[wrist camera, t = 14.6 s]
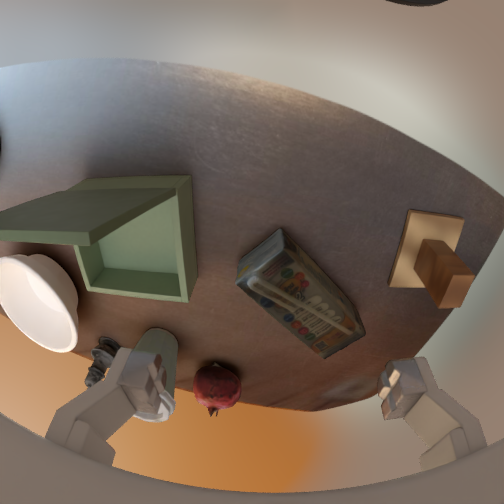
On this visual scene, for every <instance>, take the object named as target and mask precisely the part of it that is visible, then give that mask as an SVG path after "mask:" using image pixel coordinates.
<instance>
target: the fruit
mask: <svg viewBox="0 0 504 504" xmlns="http://www.w3.org/2000/svg"><path fill="white" fill-rule="evenodd" d="M193 388H194V394H195V397H196V399H197V401H198V402H199V403H200V404H203V405H205V406H206V407H207V408H208V411H209V414H210V416H212V414H213V413H214V412H216V416H217V414H218V410H219V409H226V408H229V407H232V406H233V405H234V404H235V403H236V402H237V401H238V400H239V398H240V395H241V382H240V380H239V379H238V377H237V376H235V375H234V374H233V373H232V372H231V371H229V370H227V369H225V368H222V367H220V366H219V365H218V364H216V363H215V362H214V363H213V364H212V365H210V366H205V367H202V368H201V369H199V370H198V371H197V373H196V375H195V377H194V383H193Z"/></svg>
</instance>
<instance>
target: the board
mask: <svg viewBox="0 0 504 504" xmlns="http://www.w3.org/2000/svg"><path fill="white" fill-rule="evenodd" d="M464 221H465V220H464V219H463V218H462V217H456V216H450V215H444V214H437V213H430V212H423V211H416V210H409V211H408V215H407V219H406V223H405V226H404V230H403V234H402V238H401V241H400V245H399V248H398V252H397V255H396V258H395V262H394V265H393V268H392V271H391V274H390V277H389V280H388V285H389V287H425V286H424V284H423V283H422V281H421V280H420V278H419V277H418V275H417V274H416V272H415V271H414V269H413V268H414V265H415V262H416V259H417V256H418V253H419V250H420V247H421V244H422V240H423V239H430V240H441V241H444V242H445V243H446V244H447V245H448V246H449V247H450V248H451V249H452V250H453V251H455V248H456V245H457V242H458V239H459V236H460V233H461V230H462V227H463V224H464Z"/></svg>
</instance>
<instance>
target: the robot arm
mask: <svg viewBox="0 0 504 504" xmlns="http://www.w3.org/2000/svg"><path fill="white" fill-rule="evenodd" d="M161 363H162V357H161V355H160V354H156V353H151V352H145V351H139V350H134V349H129V348H124V347H121V348H120V349H119V350H118V352H117V354H116V356H115V358H114V360H113V362H112V365H111V367H110V369H109V371H108V373H107V375H106V378H105V380H104V381H102V380H100V381H99V382H97V383H96V384H94V385H93V386H92V387H90V388H89V389H87V390H86V391H84V392H83V393H82V394H80V395H78V396H77V397H76V398H74V399H73V400H71V401H70V402H69V403H67V404H65V405H64V406H62V407H61V408H59V409H58V410H57V411H56V413H55V415H54V417H53V420H52V422H51V424H50V426H49V429H48V431H47V433H46V436H45V438H44V437H42V436H40V435H38V434H36V433H34V432H32V431H30V430H29V429H27V428H25V427H23V426H22V425H20V424H18V423H17V422H15V421H13V420H12V419H10V418H8V417H7V416H5V415H4V414H2V413H1V412H0V504H504V438H503V439H501V440H499V441H497V442H496V443H493V444H491V445H489V446H487V443H486V440H485V437H484V434H483V431H482V428H481V425H480V422H479V420H478V419H477V418H476V417H475V416H473V415H472V414H471V413H470V412H469V411H468V410H466V409H465V408H464V407H463V406H461V405H460V404H459V403H458V402H457V401H456V400H454V399H453V398H452V397H451V396H449V395H448V394H447V393H446V392H445V391H443V390H442V389H438V386H437V384H436V381H435V379H434V376H433V374H432V371H431V369H430V367H429V364H428V362H427V360H426V358H425V357H415V358H404V359H396V360H389V361H388V362H387V363H386V365H385V369H386V370H385V371H383V372H382V373H381V374H380V376H379V378H378V382H377V392H378V396H379V397H380V398H381V399H382V400H383V403H382V405H381V408H382V413H383V416H384V420H388V419H396V418H402V417H404V418H403V419H404V420H405V421H406V422H407V423H408V425H409V426H410V427H411V428H412V429H413V430H414V431H415V433H416V434H417V435H418V436H419V437H420V438H421V439H422V441H423V442H424V443H425V444H426V445H427V446H428V448H429V449H428V450H427V451H426V452H425V453H423V454H422V455H421V456H420V458H419V459H420V465H421V470H422V472H419V473H416V474H412V475H409V476H405V477H401V478H397V479H393V480H389V481H384V482H379V483H374V484H369V485H363V486H358V487H351V488H345V489H336V490H327V491H314V492H299V493H298V492H296V493H257V492H239V491H226V490H216V489H208V488H202V487H195V486H188V485H183V484H178V483H173V482H168V481H163V480H159V479H154V478H151V477H147V476H143V475H139V474H136V473H132V472H129V471H125V470H122V469H119V468H116V467H113V466H112V463H113V459H114V456H115V450H114V449H113V448H112V447H111V446H110V445H109V444H108V443H107V442H106V440H107V439H108V438H109V437H110V436H111V435H113V434H114V432H116V431H117V430H118V429H119V428H120V427H121V426H122V425H123V424H124V423H125V422H127V420H128V419H130V418H131V417H132V416H133V415H134V414H135V413H136V411H139V412H144V413H150V414H155V415H157V414H158V411H159V407H160V404H161V398H160V396H159V394H161V393H162V392H163V391H164V390H165V386H166V381H167V373H166V369H165V367H164V366H163V365H162V364H161Z"/></svg>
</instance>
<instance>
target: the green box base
mask: <svg viewBox="0 0 504 504" xmlns="http://www.w3.org/2000/svg"><path fill="white" fill-rule="evenodd" d="M120 188H176V196H174V197H172V198H170V199H168V200H166V201H165V202H163V203H161V204H159V205H157V206H156V207H154V208H152V209H150V210H149V211H147V212H145V213H143V214H142V215H140V216H138V217H136V218H135V219H133V220H131V221H130V222H128V223H126V224H125V225H123V226H121V227H120V228H118V229H116V230H115V231H113V232H112V233H110V234H108V235H107V236H105V237H104V238H102V239H100V240H99V241H97V242H96V243H94V244H93V245H91V246H81V245H73V246H74V250H75V253H76V257H77V260H78V264H79V267H80V270H81V273H82V276H83V280H84V283H85V286H86V289H87V291H93V292H100V293H107V294H115V295H122V296H130V297H139V298H147V299H157V300H166V301H176V302H187V303H189V300H190V297H191V294H192V292H193V289H194V286H195V283H196V280H197V277H198V272H197V260H196V247H195V233H194V217H193V199H192V176H191V175H159V176H127V177H107V178H92V179H85V180H83V181H81V182H80V183H78V184H76V185H75V186H73V187H71V188H70V189H68V190H66V191H76V190H94V189H120Z"/></svg>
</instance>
